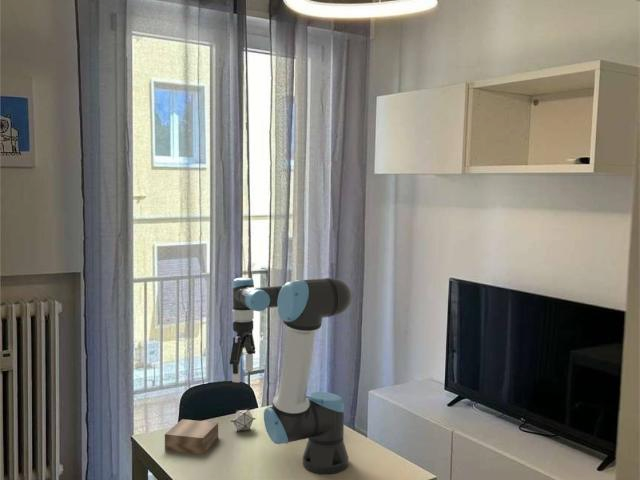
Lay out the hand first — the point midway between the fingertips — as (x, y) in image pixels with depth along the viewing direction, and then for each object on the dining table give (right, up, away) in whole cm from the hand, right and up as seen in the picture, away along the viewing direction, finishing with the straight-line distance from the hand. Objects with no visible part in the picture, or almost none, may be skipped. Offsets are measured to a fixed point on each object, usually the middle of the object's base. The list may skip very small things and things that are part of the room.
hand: (242, 376), depth 227 cm
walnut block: (-17, -22, -11) cm, 29 cm away
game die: (0, -21, +2) cm, 21 cm away
